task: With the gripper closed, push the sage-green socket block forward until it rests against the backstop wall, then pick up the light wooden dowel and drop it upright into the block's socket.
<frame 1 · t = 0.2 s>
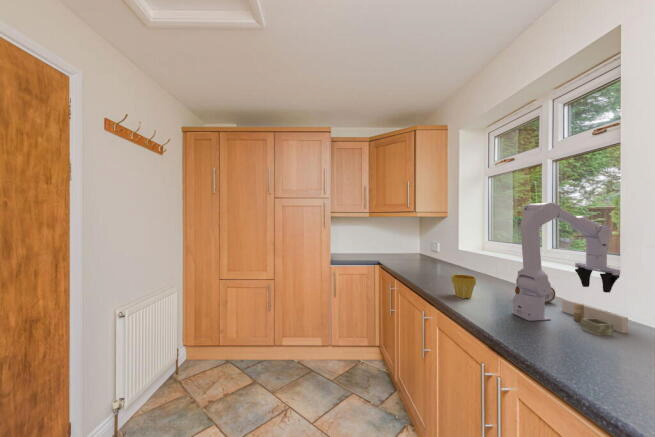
hand: (595, 289, 102), 10 cm above the countertop, tool pointing down, fingers open, 7 cm apart
backstop wall: (591, 320, 96), on the countertop
dowel: (578, 320, 96), on the countertop
socket block: (596, 332, 87), on the countertop
tin: (535, 302, 118), on the countertop
plant pot: (463, 297, 125), on the countertop
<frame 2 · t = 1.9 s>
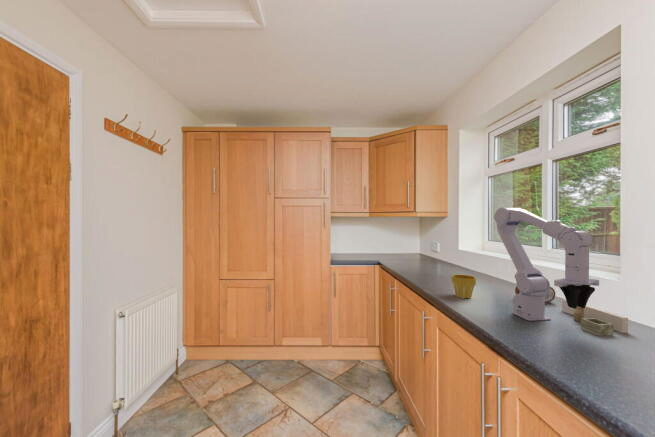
hand: (576, 307, 86), 8 cm above the countertop, tool pointing down, fingers open, 3 cm apart
nothing on the countertop moved.
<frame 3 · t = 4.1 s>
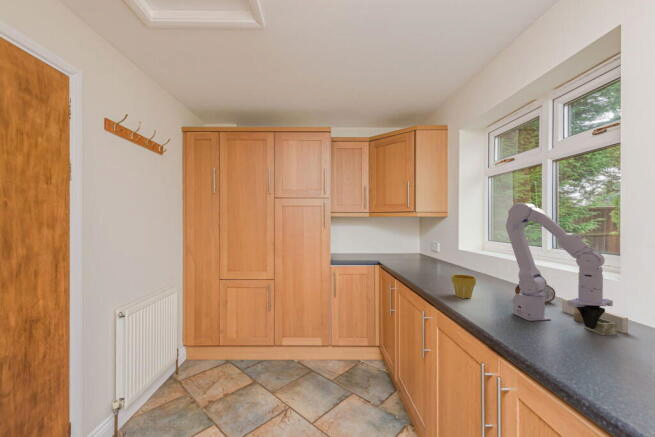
hand: (589, 327, 87), 1 cm above the countertop, tool pointing down, fingers closed
socket block: (600, 331, 87), on the countertop, touching gripper
everything else where it was.
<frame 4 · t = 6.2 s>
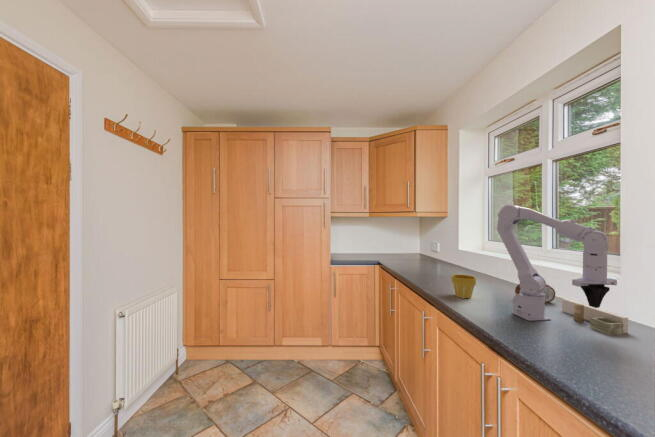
hand: (594, 306, 87), 8 cm above the countertop, tool pointing down, fingers closed
socket block: (606, 331, 88), on the countertop
everything else where it was.
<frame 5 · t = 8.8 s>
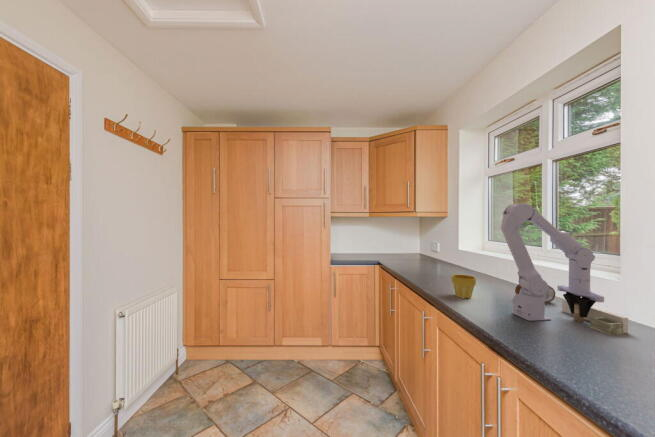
hand: (578, 315, 96), 2 cm above the countertop, tool pointing down, fingers closed on dowel, 3 cm apart
dowel: (578, 320, 96), on the countertop, touching gripper
everything else where it was.
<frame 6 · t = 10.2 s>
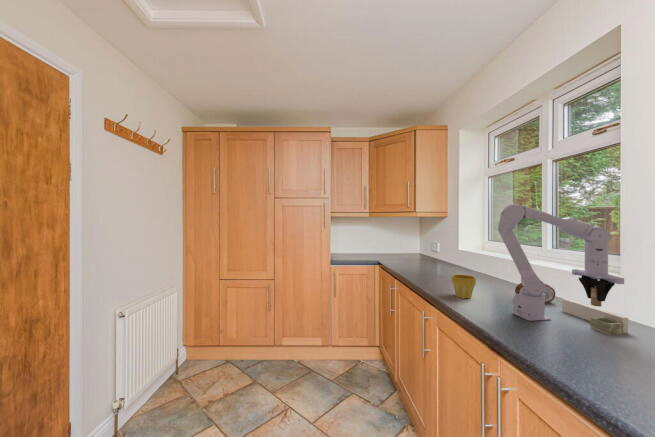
hand: (596, 299, 91), 9 cm above the countertop, tool pointing down, fingers closed on dowel, 3 cm apart
dowel: (596, 305, 91), point 7 cm above the countertop, touching gripper
everything else where it was.
when the fingers open (4 cm above the countertop, at t = 11.7 s): dowel drops 2 cm, resting on socket block.
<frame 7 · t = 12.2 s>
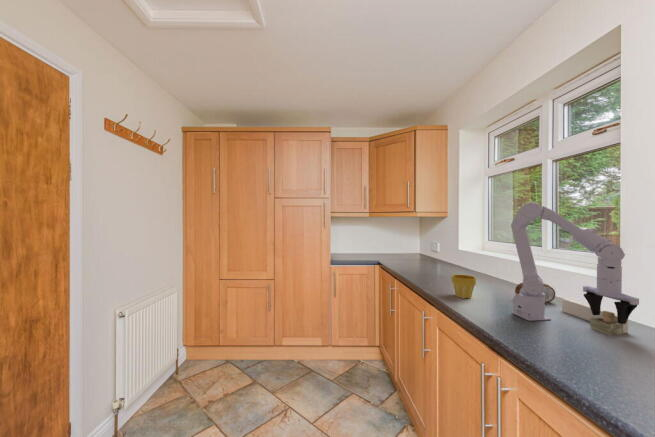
hand: (608, 319, 88), 4 cm above the countertop, tool pointing down, fingers open, 7 cm apart
dowel: (608, 330, 88), resting on socket block
socket block: (606, 331, 88), on the countertop, touching dowel
everything else where it was.
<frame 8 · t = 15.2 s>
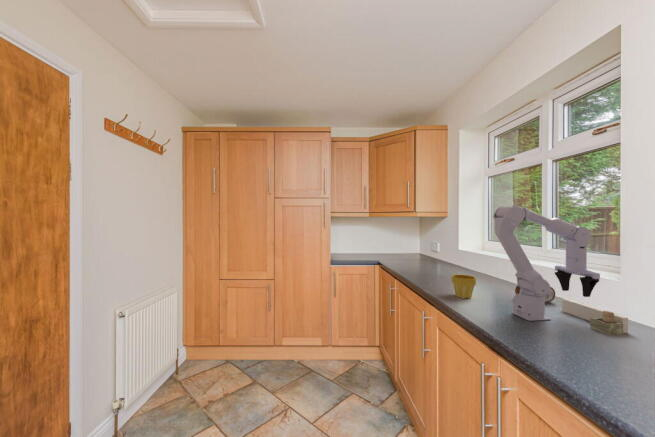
hand: (575, 293, 98), 9 cm above the countertop, tool pointing down, fingers open, 7 cm apart
nothing on the countertop moved.
at the end: socket block 0.5 cm from the target spot, on the countertop; dowel 0.4 cm off-centre on the socket block, point 0.6 cm above the socket block's base; dowel tilted 1° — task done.
